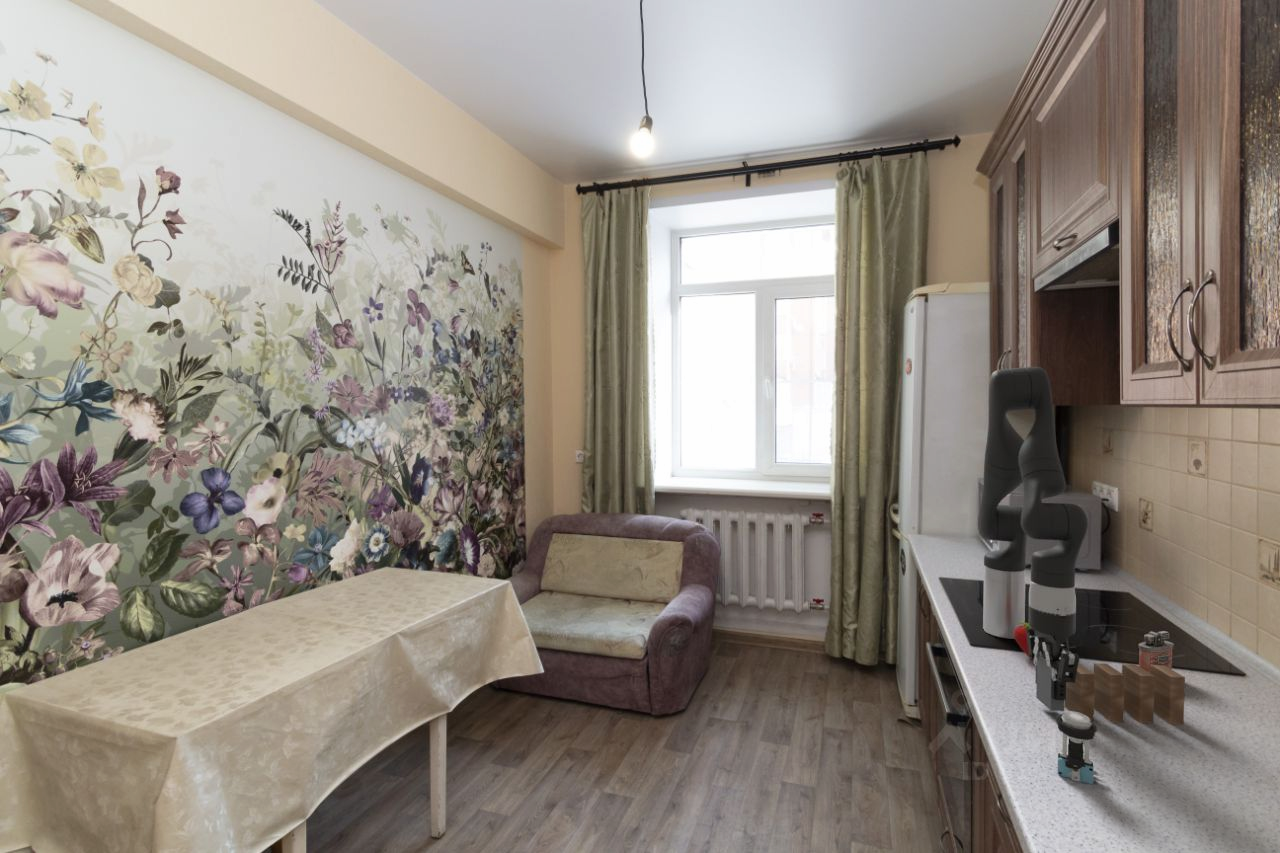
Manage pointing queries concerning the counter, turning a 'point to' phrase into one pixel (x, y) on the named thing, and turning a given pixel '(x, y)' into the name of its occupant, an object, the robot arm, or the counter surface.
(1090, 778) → the push button
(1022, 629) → the strawberry
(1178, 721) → the walnut tile
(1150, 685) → the walnut tile
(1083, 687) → the walnut tile
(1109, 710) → the walnut tile
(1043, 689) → the charcoal tile
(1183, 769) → the counter surface
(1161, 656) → the lighter
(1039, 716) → the counter surface
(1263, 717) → the counter surface
